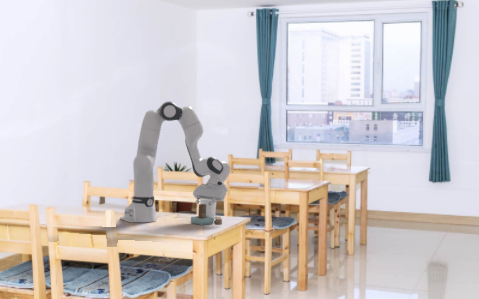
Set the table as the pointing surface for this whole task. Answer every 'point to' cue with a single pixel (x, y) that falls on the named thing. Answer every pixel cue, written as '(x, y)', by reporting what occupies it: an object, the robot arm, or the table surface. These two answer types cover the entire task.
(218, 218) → the wick
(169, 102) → the robot arm
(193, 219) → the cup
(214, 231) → the table surface
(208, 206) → the white tapered container
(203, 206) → the stick
